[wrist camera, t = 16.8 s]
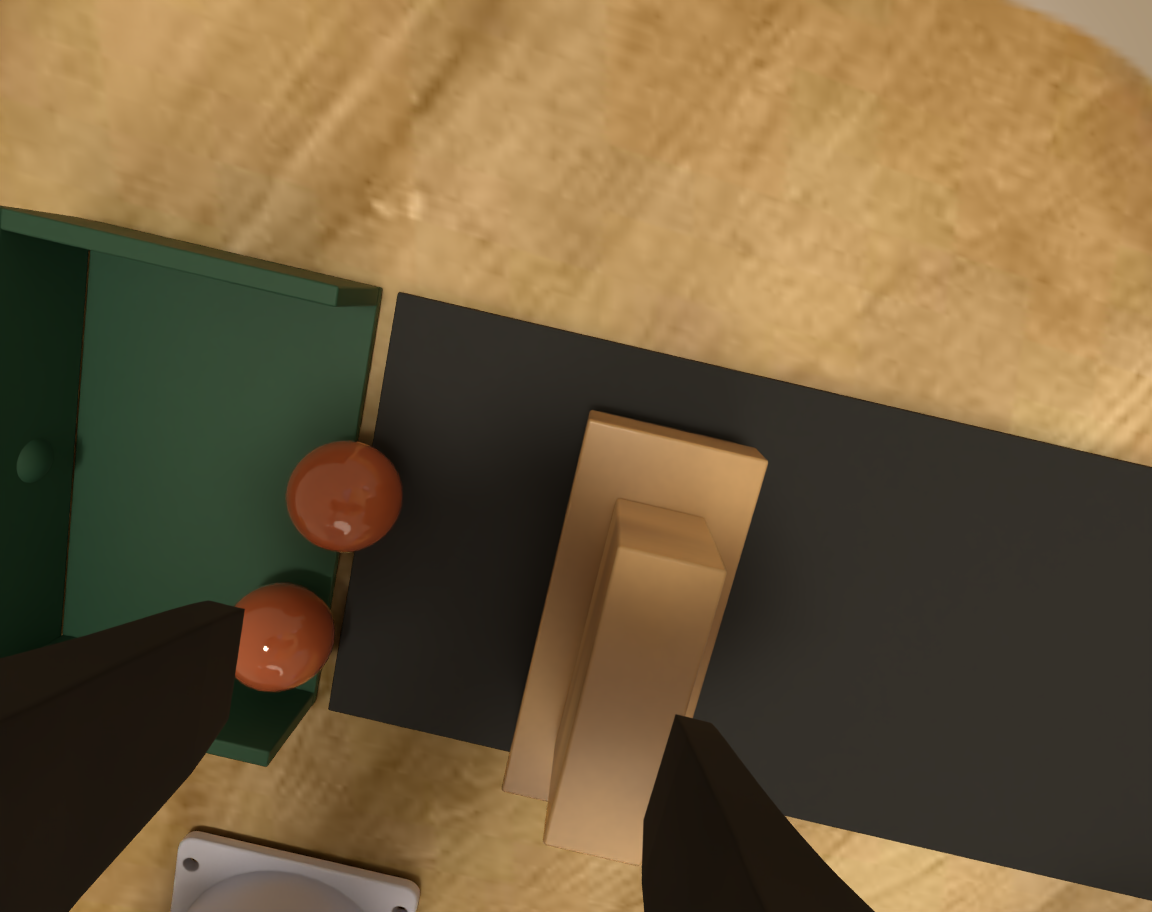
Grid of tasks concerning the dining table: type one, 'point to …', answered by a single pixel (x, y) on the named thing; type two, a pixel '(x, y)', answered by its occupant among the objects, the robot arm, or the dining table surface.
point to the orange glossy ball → (344, 496)
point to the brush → (628, 624)
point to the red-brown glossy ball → (283, 637)
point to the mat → (789, 592)
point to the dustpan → (164, 434)
